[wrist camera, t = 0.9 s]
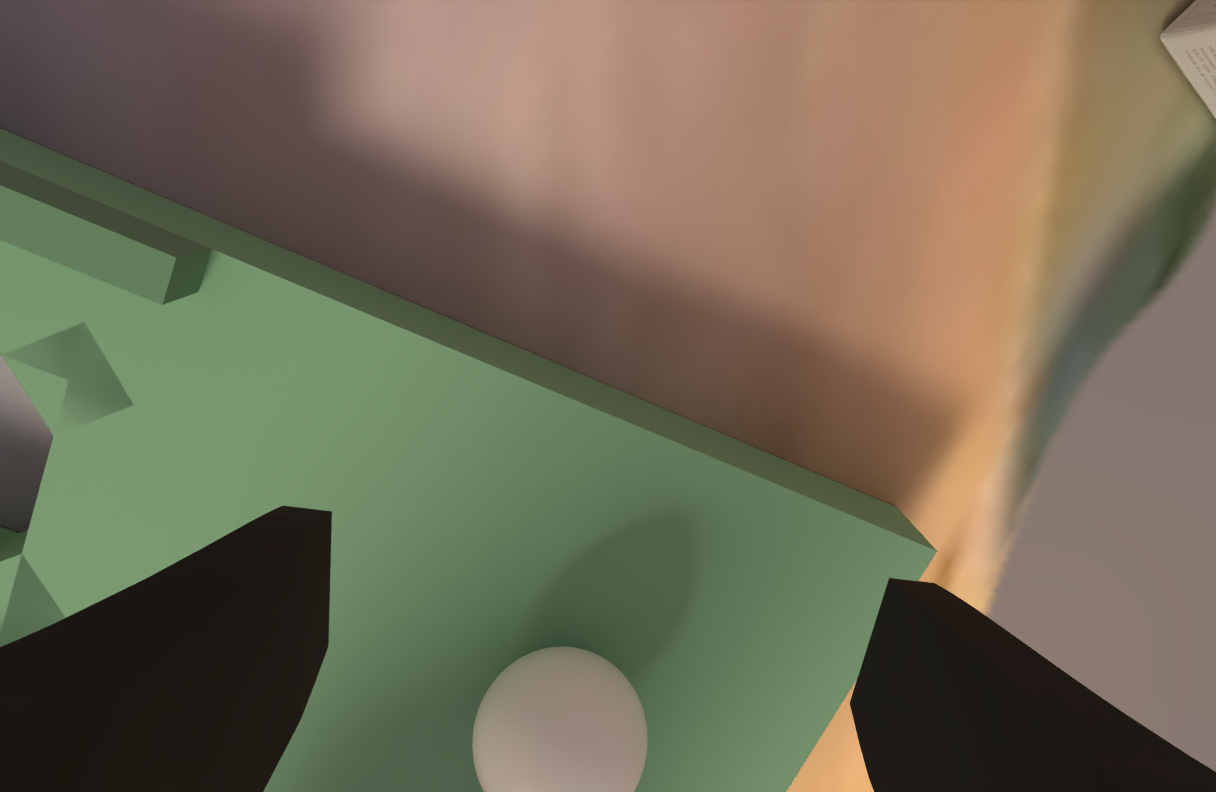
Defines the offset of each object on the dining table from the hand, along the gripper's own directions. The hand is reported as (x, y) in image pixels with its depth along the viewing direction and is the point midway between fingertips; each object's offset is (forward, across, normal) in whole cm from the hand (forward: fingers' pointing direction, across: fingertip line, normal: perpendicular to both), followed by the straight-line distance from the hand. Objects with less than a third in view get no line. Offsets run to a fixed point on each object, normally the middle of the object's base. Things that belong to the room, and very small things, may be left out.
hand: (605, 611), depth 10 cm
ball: (+6, 0, +8) cm, 9 cm away
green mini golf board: (+10, +8, +6) cm, 14 cm away
